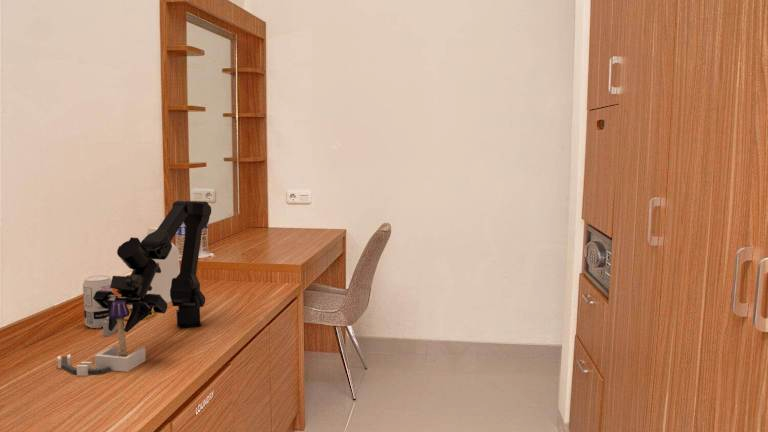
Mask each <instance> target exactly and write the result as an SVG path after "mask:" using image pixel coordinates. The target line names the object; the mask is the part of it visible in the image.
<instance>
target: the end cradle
mask: <svg viewBox="0 0 768 432" xmlns="http://www.w3.org/2000/svg"><path fill="white" fill-rule="evenodd" d="M127 355H128V356H126V357H121V355H120V354H119V344H114V345H112V346H110V347H108V348H105V350H102V351H101V352H99V353H97V354H95V355H94V369H101V368H105V367H110V369H111V371H114V372H121V373H122V372H124V373H128V372H130V371H131V370H133V369H134V368H136V367H137V366H139V365H141V364H142V363H144V362H145V361H147V360H146V347H140V348H138V349H136V350H134V351H133V352H131V353H129V354H127Z"/></svg>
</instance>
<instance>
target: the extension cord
mask: <svg viewBox="0 0 768 432" xmlns="http://www.w3.org/2000/svg"><path fill="white" fill-rule="evenodd" d="M127 307H128V310H129V313H130V312H132V305H128V306H127ZM151 312H152V314H151V315H148V316H147V317H145V318H144V319H143V320H142V321H146V320H149V319H152V318H154V317H155V316H157V314H158V313H155V312H154V310H153V309H152V310H151ZM130 314H131V313H130ZM128 319H129V318H126V317H125V318H124V320H126V321H125V322H127V321H128ZM145 319H146V320H145Z"/></svg>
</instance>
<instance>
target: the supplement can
mask: <svg viewBox="0 0 768 432" xmlns="http://www.w3.org/2000/svg"><path fill="white" fill-rule="evenodd" d="M111 281H112V278H111V277H110V276H109V275H92V276H88V277H86V278H84V281H83V283H82V296H83V311H84V312H83V315H84V325H85V326H86V327H87V326H88V327H90V328H89V329H93V328H96V329H102V328H101V327H103V322H104V321H106V317H108V316H109V309H105V308H102V307H101V306H100V305H99V304H98V303H97V302H96V301H95V300H94V299H93V297H94V295H95V293H96V292H97V291H99V290H104V291H111V292H112V293H113V294H114V290H113V289H114V288H110V286H111ZM88 327H87V328H88Z"/></svg>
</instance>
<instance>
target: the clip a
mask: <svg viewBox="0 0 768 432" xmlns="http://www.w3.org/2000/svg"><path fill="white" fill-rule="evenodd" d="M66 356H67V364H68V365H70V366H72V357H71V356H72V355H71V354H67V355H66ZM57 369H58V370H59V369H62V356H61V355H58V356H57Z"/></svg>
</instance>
